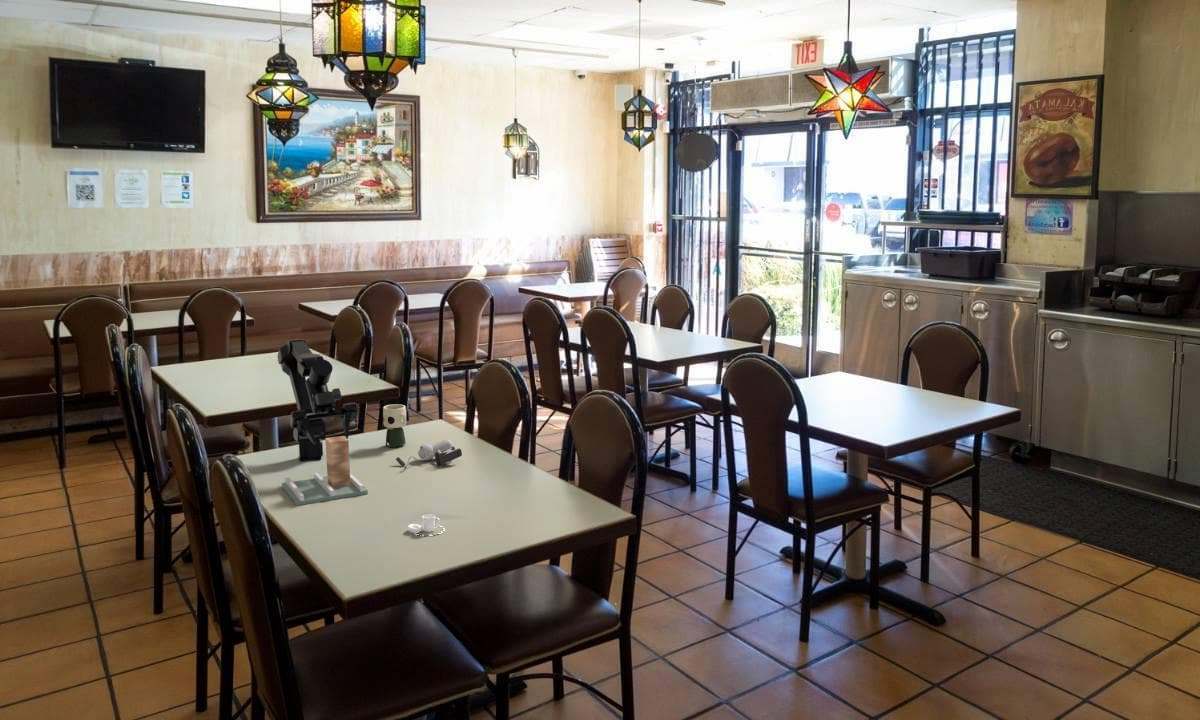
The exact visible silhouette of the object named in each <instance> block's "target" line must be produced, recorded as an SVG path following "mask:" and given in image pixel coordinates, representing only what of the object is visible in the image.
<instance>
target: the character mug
mask: <svg viewBox="0 0 1200 720" xmlns="http://www.w3.org/2000/svg"><path fill="white" fill-rule="evenodd" d="M406 414H407V410H406V405H404V404H399V403H398V404H397V403H396V404H387V405H384V406H383V407H382V416H383V426H384V427H385V428H387V430H386V433H385V434H386V435H385V446H386V447H387V446H388V447H393V448H394V447H395V448H396V447H398V448H399V447H400V446H403V445H405V444H406V443H407V442H406V436H405V430H404V428H403V427H405V426H406V425H407V415H406Z"/></svg>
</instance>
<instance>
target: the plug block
mask: <svg viewBox="0 0 1200 720" xmlns="http://www.w3.org/2000/svg"><path fill="white" fill-rule="evenodd" d="M324 440H325V457H326V458H325V459H326V474H327V476H326V477H327V478H328V484H329V485H330V486H331V487H332V488H337V487H344V486H350V485H351V484H350V473H351V469H350V467H351V465H350V446H349V438H348V439H346V437H345V435H341V436H331V437H325V438H324Z"/></svg>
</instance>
